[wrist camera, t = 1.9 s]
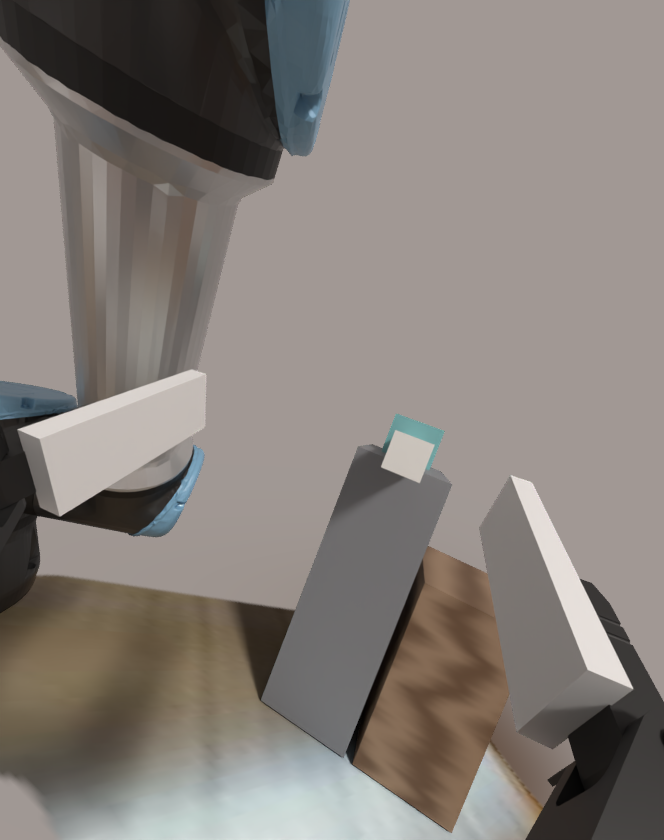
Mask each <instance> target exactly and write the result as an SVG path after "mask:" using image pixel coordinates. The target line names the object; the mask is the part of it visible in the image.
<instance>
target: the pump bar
mask: <svg viewBox="0 0 664 840" xmlns="http://www.w3.org/2000/svg"><path fill="white" fill-rule="evenodd" d="M443 434H444V431H443V430H440V429H437V428H435V427H432V426H429V425H427V424H424V423H421V422H418V421H415V420H412V419H410V418H407V417H404V416H401V415H399V414H396V415H395V418H394V420H393V423H392V426H391V428H390V431H389V433H388V436H387V438H386V441H385V444H384V446H383V449H382V452H384V453H386V455H385V458H384V460H383V463H382V466H381V467H382V468H384V469H387V470H389V471H391V472H394V473H396V474H399V475H401V476H404V477H406V478H408V479H411V480H413V481H416V482H418V483H420V481H421V479H422V476H423V474H424V471H425V469H427V470H430V467H431V464H432V462H433V459H434V457H435V454H436V452H437V449H438V447H439V444H440V442H441V439H442V437H443Z"/></svg>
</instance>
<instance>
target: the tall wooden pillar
mask: <svg viewBox="0 0 664 840" xmlns="http://www.w3.org/2000/svg"><path fill="white" fill-rule="evenodd" d="M508 696H509V689H508V683H507V678H506V672H505V667H504V661H503V656H502V650H501V645H500V639H499V634H498V628H497V623H496V617H495V612H494V606H493V601H492V595H491V590H490V584H489V579H488V574H487V573H485V572H483V571H481V570H479V569H476V568H474V567H472V566H470V565H468V564H466V563H463V562H461V561H459V560H457V559H455V558H453V557H451V556H449V555H446V554H444V553H442V552H440V551H438V550H435V549H434V548H431V547H429V546H428V547H427V549H426V552H425V554H424V557H423V559H422V562H421V564H420V567H419V569H418V572H417V574H416V577H415V579H414V582H413V584H412V587H411V589H410V592H409V594H408V597H407V599H406V602H405V604H404V607H403V609H402V612H401V614H400V617H399V619H398V622H397V624H396V627H395V629H394V632H393V634H392V637H391V639H390V642H389V645H388V647H387V650H386V652H385V655H384V657H383V660H382V662H381V665H380V667H379V670H378V672H377V675H376V677H375V680H374V682H373V685H372V687H371V690H370V692H369V695H368V697H367V700H366V702H365V705H364V707H363V710H362V715H361V721H360V726H359V731H358V737H357V742H356V747H355V753H354V758H353V765H354V766H356V767H357V768H359V769H360V770H362V771H363V772H364V773H366V774H367V775H369V776H370V777H372V778H373V779H374V780H376V781H377V782H379V783H380V784H382V785H383V786H385V787H386V788H387V789H389V790H390V791H392V792H393V793H395V794H396V795H397V796H399V797H400V798H402V799H403V800H405V801H406V802H408V803H409V804H410V805H412V806H413V807H415V808H416V809H418V810H419V811H420V812H422V813H423V814H425V815H426V816H428V817H429V818H431V819H432V820H433V821H435V822H436V823H438V824H439V825H441V826H442V827H443V828H445V829H446V830H448V831H449V832H451V833H452V831H453V828H454V826H455V823H456V821H457V819H458V816H459V814H460V811H461V809H462V807H463V804H464V802H465V799H466V797H467V795H468V792H469V790H470V787H471V785H472V783H473V780H474V778H475V776H476V773H477V771H478V768H479V766H480V764H481V761H482V759H483V756H484V754H485V752H486V749H487V747H488V744H489V742H490V740H491V737H492V735H493V732H494V730H495V728H496V725H497V723H498V720H499V718H500V716H501V713H502V711H503V708H504V706H505V704H506V701H507V698H508Z"/></svg>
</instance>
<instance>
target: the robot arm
mask: <svg viewBox="0 0 664 840" xmlns="http://www.w3.org/2000/svg"><path fill="white" fill-rule="evenodd" d="M349 2H350V0H0V47H1V48H2V49H3V50H4V52H5V53H6V54H7V55H8V57H9V58H10V59H11V61H12V62H13V63H14V64H15V66H16V67H17V68H18V69H19V71H20V72H21V73H22V74H23V76H24V77H25V78H26V80H27V81H28V82H29V83H30V85H31V86H32V87H33V88H34V90H35V91H36V92H37V94H38V95H39V96H40V97H41V99H42V100H43V101H44V102H45V104H46V105H47V106H48V108H49V109H50V112H51V113H52V116H53V117H54V128H55V139H56V151H57V163H58V174H59V187H60V199H61V210H62V222H63V233H64V245H65V258H66V269H67V281H68V292H69V305H70V316H71V327H72V340H73V352H74V363H75V375H76V387H77V399H78V408H77V403H76V399H75V398H74V397H73V396H72V395H68V394H66V393H64V392H60V391H57V390H53V389H48V388H43V387H38V386H33V385H26V384H20V383H13V382H5V381H0V612H2V611H4V610H5V609H7V608H9V607H10V606H12V605H13V604H15V603H16V602H17V601H19V600H20V599H21V598H22V597H23V596H24V595H25V594H26V593H27V592H28V591H29V589H30V588H31V587H32V585H33V583H34V580H35V577H36V574H37V571H38V568H39V565H40V552H39V544H38V536H37V529H36V518H37V516H41V517H47V518H51V519H57V520H63V521H67V522H73V523H77V524H83V525H88V526H93V527H98V528H104V529H109V530H114V531H120V532H124V533H128V534H129V535H132V536H140V535H143V536H149V537H161V536H163V535H165V534H167V533H168V532H169V531H170V530H171V529H172V528H173V526H174V525H175V523H176V522H177V520H178V518H179V516H180V514H181V512H182V510H183V508H184V505H185V503H186V502H187V500H188V498H189V496H190V494H191V492H192V490H193V487H194V485H195V482H196V480H197V478H198V475H199V473H200V470H201V467H202V464H203V461H204V452H203V450H202V449H200V448H197V447H196V446H195V445H193V439H192V435H193V434H195V433H196V432H198V431H200V430H201V429H203V428H204V427H205V408H206V374H204V373H201V372H198V371H197V369H198V365H199V361H200V357H201V353H202V349H203V345H204V341H205V337H206V332H207V329H208V324H209V320H210V316H211V312H212V308H213V303H214V300H215V296H216V292H217V288H218V284H219V280H220V275H221V272H222V268H223V263H224V259H225V255H226V251H227V247H228V243H229V239H230V235H231V231H232V227H233V223H234V219H235V215H236V210H237V206H238V204H239V202H240V201H241V199H242V198H243V197H245V196H248V195H250V194H252V193H254V192H256V191H259V190H261V189H263V188H265V187H267V186H269V185H272V183H273V181H274V178H275V174H276V171H277V168H278V164H279V161H280V158H281V154H282V151H283V149H284V148H285V149H287V151H288V152H289V153H290V154H291V156H293V155H299V156H307V155H309V154H310V153H311V152H312V150H313V147H314V144H315V141H316V137H317V133H318V129H319V125H320V120H321V117H322V113H323V109H324V105H325V101H326V97H327V93H328V89H329V86H330V82H331V78H332V73H333V69H334V65H335V61H336V57H337V52H338V49H339V45H340V41H341V36H342V32H343V28H344V24H345V19H346V15H347V11H348V6H349ZM479 529H480V535H481V540H482V546H483V551H484V557H485V562H486V568H487V573H488V579H489V584H490V590H491V595H492V601H493V606H494V612H495V617H496V623H497V628H498V634H499V639H500V645H501V650H502V656H503V661H504V667H505V672H506V678H507V683H508V689H509V694H510V699H511V705H512V711H513V716H514V721H515V727H516V732H517V733H519V734H521V735H523V736H526V737H528V738H530V739H532V740H534V741H536V742H538V743H540V744H542V745H545V746H547V747H549V748H551V749H554V748H555V747H556V746H558V745H559V744H560V743H562V742H563V741H565V740H566V739H567V738H569V742H570V745H571V749H572V752H573V755H574V759H575V761H574V762H573V763H571V764H570V765H568V766H567V767H565V768H564V769H562V770H561V771H559V772H558V773H556V774H555V775H553V776H552V777H551V778H549V779H548V781H549V783H550V784H551V785H552V786H555V785H556V784H557V785H556V787H555V788H554V790H553V792H552V794H551V795H550V797H549V799H548V801H547V803H546V804H545V806H544V808H543V810H542V811H541V813H540V815H539V817H538V818H537V820H536V822H535V824H534V825H533V827H532V829H531V831H530V833H529V834H528V836H527V838H526V840H664V702H663V700H662V698H661V696H660V694H659V692H658V691H657V689H656V687H655V685H654V683H653V682H652V680H651V678H650V676H649V674H648V672H647V671H646V669H645V667H644V665H643V663H642V662H641V660H640V658H639V656H638V654H637V652H636V651H635V649H634V647H633V645H631V644H630V640H629V638H628V636H627V634H626V632H625V631H624V629H623V628H622V627H620V621H619V620H618V618H617V616H616V614H615V612H614V611H613V609H612V607H611V605H610V603H609V602H608V601H607V600H606V599H605V598H604V596H603V595H602V594H601V593H600V592H599V591H598V590H597V588H596V587H595V586H594V585H593V584H592V583H590V582H587V581H584V580H582V579H579V577H578V575H577V573H576V571H575V569H574V567H573V565H572V563H571V561H570V559H569V557H568V555H567V553H566V551H565V549H564V547H563V545H562V543H561V540H560V539H559V537H558V534H557V532H556V530H555V528H554V526H553V524H552V522H551V520H550V518H549V516H548V514H547V512H546V510H545V508H544V506H543V504H542V502H541V500H540V498H539V496H538V494H537V492H536V490H535V488H534V486H533V483H532V482H529V481H526V480H523V479H520V478H517V477H514V476H510V477H509V479H508V480H507V482H506V484H505V485H504V487H503V489H502V490H501V492H500V494H499V495H498V497H497V499H496V500H495V502H494V504H493V506H492V507H491V509H490V511H489V512H488V514H487V516H486V517H485V519H484V521H483V522H482V524H481V526H480V527H479Z"/></svg>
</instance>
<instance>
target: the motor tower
mask: <svg viewBox="0 0 664 840" xmlns="http://www.w3.org/2000/svg"><path fill="white" fill-rule="evenodd" d="M382 449H383V448H380V447H378V446H375V445H373V444H372V445H365V446H359V447H358V448H357V451H356V454H355V456H354V459H353V461H352V464H351V467H350V469H349V472H348V474H347V477H346V480H345V482H344V485H343V487H342V490H341V493H340V495H339V498H338V500H337V503H336V506H335V508H334V511H333V514H332V516H331V519H330V521H329V524H328V526H327V529H326V532H325V534H324V537H323V540H322V542H321V545H320V547H319V550H318V552H317V555H316V558H315V560H314V563H313V565H312V568H311V571H310V573H309V576H308V578H307V581H306V584H305V586H304V589H303V592H302V594H301V597H300V599H299V602H298V605H297V607H296V610H295V612H294V615H293V618H292V620H291V623H290V625H289V628H288V631H287V633H286V636H285V638H284V641H283V644H282V646H281V649H280V651H279V654H278V657H277V659H276V662H275V664H274V667H273V670H272V672H271V675H270V677H269V680H268V683H267V685H266V688H265V690H264V693H263V696H262V698H261V701H262V702H264V703H265V704H267V705H268V706H270V707H271V708H272V709H274V710H275V711H277V712H278V713H280V714H281V715H283V716H284V717H285V718H287V719H288V720H290V721H291V722H293V723H294V724H295V725H297V726H298V727H300V728H301V729H303V730H304V731H305V732H307V733H308V734H310V735H311V736H313V737H314V738H316V739H317V740H318V741H320V742H321V743H323V744H324V745H326V746H327V747H328V748H330V749H331V750H333V751H334V752H336V753H337V754H339V755H340V756H341V757H343V758H344V755H345V753H346V750H347V748H348V745H349V742H350V740H351V737H352V735H353V732H354V730H355V727H356V725H357V722H358V720H359V717H360V715H361V712H362V710H363V707H364V705H365V702H366V700H367V697H368V695H369V692H370V690H371V687H372V685H373V682H374V680H375V677H376V675H377V672H378V670H379V667H380V665H381V662H382V660H383V657H384V655H385V652H386V650H387V647H388V645H389V642H390V639H391V637H392V634H393V632H394V629H395V627H396V624H397V622H398V619H399V617H400V614H401V612H402V609H403V607H404V604H405V602H406V599H407V597H408V594H409V592H410V589H411V587H412V584H413V582H414V579H415V577H416V574H417V572H418V569H419V567H420V564H421V562H422V559H423V557H424V554H425V552H426V549H427V547H428V544H429V541H430V539H431V536H432V534H433V531H434V528H435V526H436V524H437V521H438V519H439V516H440V514H441V511H442V509H443V506H444V504H445V501H446V499H447V496H448V494H449V491H450V489H451V486H452V484H451V483H450V481H449V480H448V479H447V478H446V477H445V476H444V474H443V473H442V472H441V471H438V470H436V469H433V468H431V467H430V470H427V469H425V471H424V474H423V476H422V479H421V481H420V483H418V482H416V481H413V480H411V479H408V478H406V477H404V476H401V475H399V474H396V473H394V472H391V471H389V470H387V469H384V468H382V467H381V466H382V463H383V460H384V458H385V455H386V453H384V452H382Z"/></svg>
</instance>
